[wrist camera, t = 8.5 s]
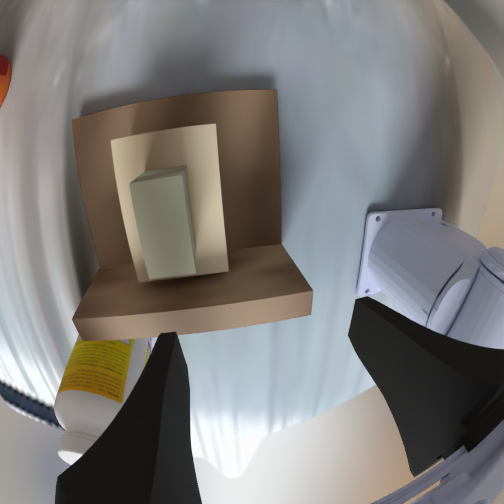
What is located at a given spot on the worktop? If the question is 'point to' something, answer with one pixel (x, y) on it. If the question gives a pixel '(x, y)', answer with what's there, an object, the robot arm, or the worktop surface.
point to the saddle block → (172, 202)
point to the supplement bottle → (96, 389)
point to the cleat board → (234, 212)
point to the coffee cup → (4, 77)
